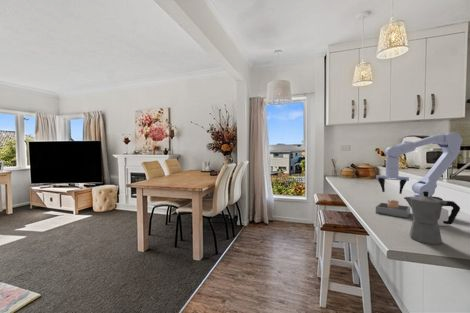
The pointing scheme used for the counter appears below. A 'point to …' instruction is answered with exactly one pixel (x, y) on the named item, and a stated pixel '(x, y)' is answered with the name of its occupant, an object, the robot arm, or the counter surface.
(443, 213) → the pale grey tall block
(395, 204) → the peach rounded cylinder
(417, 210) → the coffeepot
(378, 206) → the bin
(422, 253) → the counter surface
